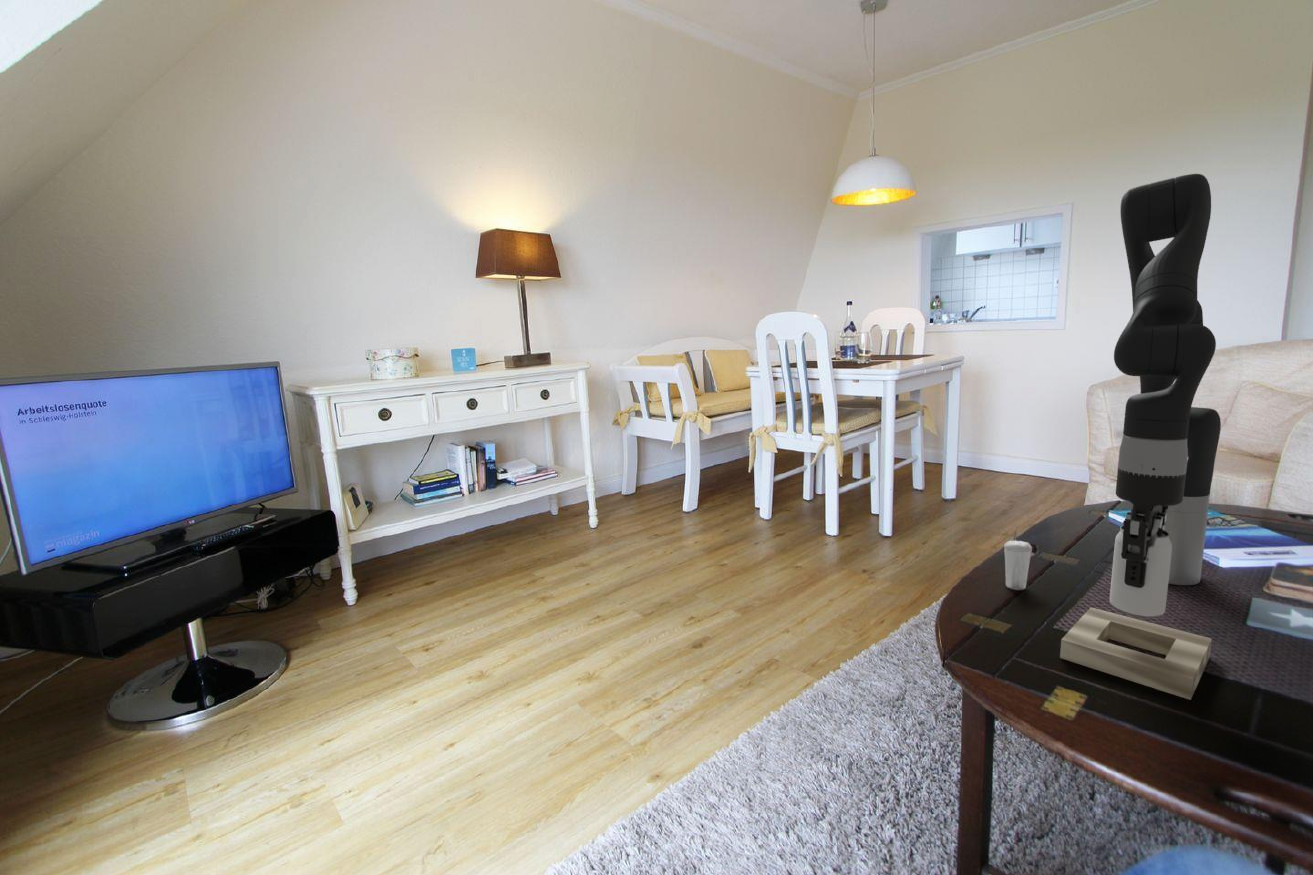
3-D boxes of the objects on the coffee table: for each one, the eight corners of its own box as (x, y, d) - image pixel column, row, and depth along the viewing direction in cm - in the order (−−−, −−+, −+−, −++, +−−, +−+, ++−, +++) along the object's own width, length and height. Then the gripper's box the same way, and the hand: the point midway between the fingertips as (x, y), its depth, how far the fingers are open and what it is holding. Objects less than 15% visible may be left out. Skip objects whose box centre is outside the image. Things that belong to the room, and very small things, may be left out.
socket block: (1089, 624, 101) (1090, 607, 100) (1209, 657, 90) (1211, 638, 89) (1059, 657, 91) (1061, 639, 91) (1190, 699, 80) (1193, 679, 80)
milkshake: (1025, 581, 118) (1028, 532, 117) (1032, 592, 113) (1035, 541, 112) (998, 579, 120) (1001, 531, 118) (1004, 590, 115) (1007, 540, 113)
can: (1144, 599, 92) (1152, 523, 90) (1176, 618, 86) (1185, 538, 84) (1099, 598, 93) (1106, 523, 91) (1127, 618, 86) (1135, 538, 84)
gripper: (1174, 481, 78) (1161, 602, 81) (1195, 462, 88) (1183, 572, 90) (1104, 472, 84) (1095, 586, 87) (1131, 456, 93) (1121, 559, 96)
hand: (1140, 578), depth 89 cm, fingers closed on can, 6 cm apart
